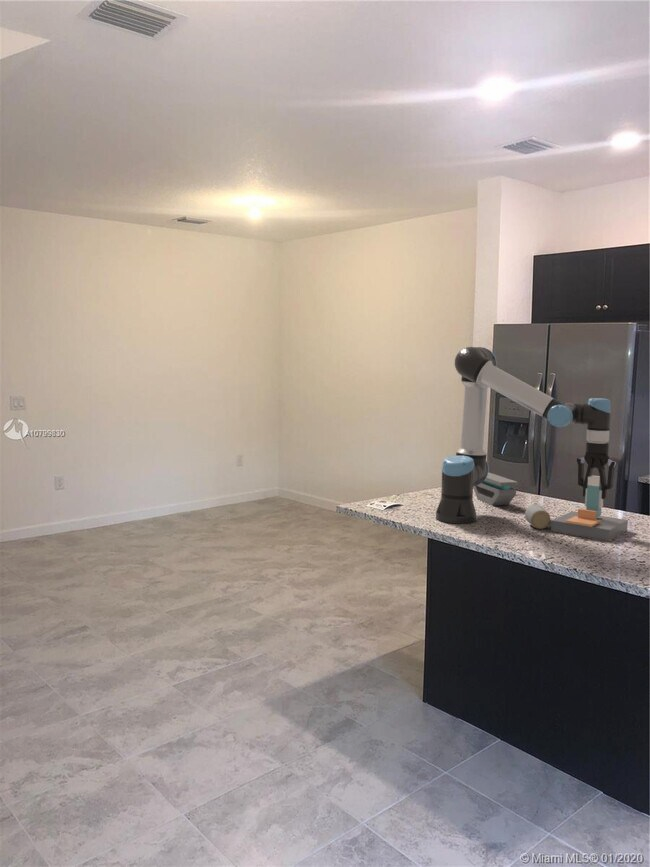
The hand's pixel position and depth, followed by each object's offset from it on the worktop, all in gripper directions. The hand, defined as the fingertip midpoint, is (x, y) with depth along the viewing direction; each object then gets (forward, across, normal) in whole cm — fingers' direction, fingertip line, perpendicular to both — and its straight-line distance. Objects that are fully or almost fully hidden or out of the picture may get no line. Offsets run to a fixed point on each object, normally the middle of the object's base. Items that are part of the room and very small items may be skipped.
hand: (593, 506), depth 250 cm
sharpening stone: (+8, +48, -19) cm, 52 cm away
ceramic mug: (+9, +15, +9) cm, 20 cm away
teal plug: (+3, 0, 0) cm, 3 cm away
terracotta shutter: (+4, 0, +10) cm, 11 cm away
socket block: (+8, 0, +3) cm, 9 cm away
